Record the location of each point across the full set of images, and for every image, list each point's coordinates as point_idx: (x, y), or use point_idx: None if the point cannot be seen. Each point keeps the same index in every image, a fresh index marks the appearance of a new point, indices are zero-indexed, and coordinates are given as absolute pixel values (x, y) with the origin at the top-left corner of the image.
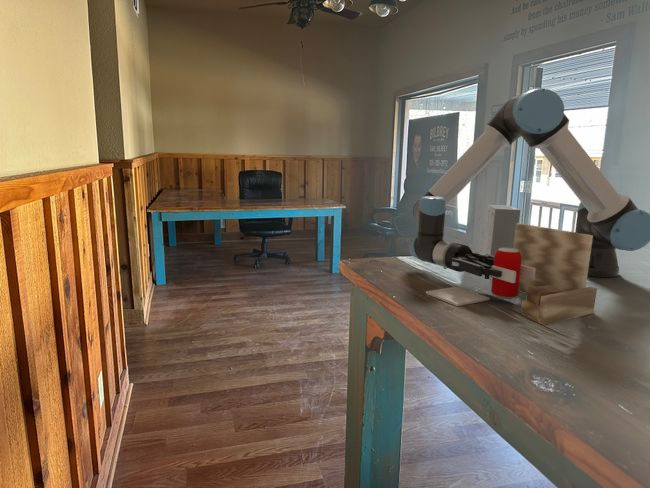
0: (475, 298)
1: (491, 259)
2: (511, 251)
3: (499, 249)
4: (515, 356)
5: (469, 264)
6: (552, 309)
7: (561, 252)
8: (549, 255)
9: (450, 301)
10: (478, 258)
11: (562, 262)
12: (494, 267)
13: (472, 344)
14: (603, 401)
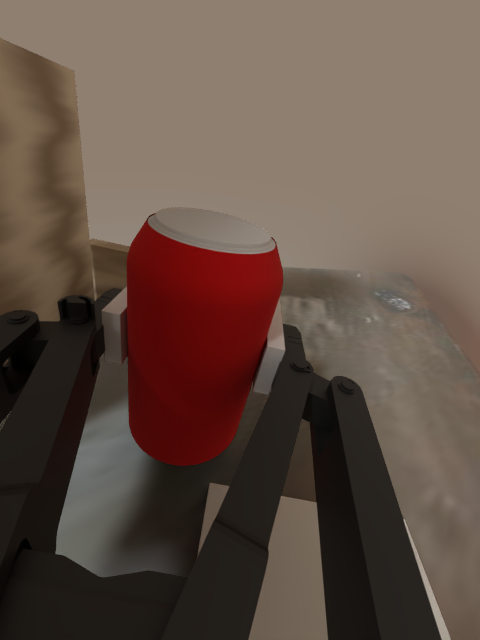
0: (276, 518)
1: (52, 439)
2: (248, 222)
3: (263, 245)
4: (396, 326)
5: (383, 477)
6: None
7: (18, 163)
8: None
9: (423, 570)
10: (67, 604)
11: (35, 207)
12: (281, 342)
13: (448, 365)
14: (366, 281)
